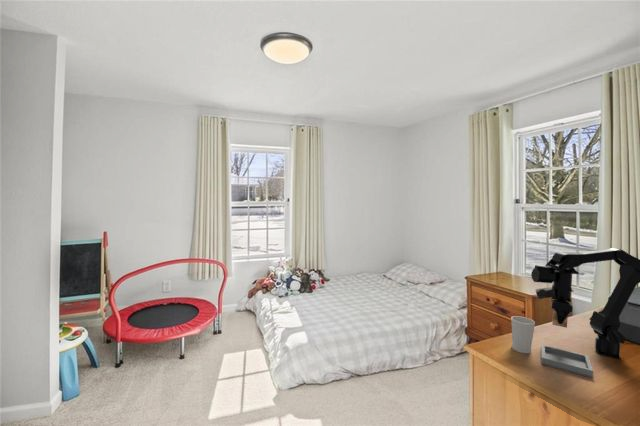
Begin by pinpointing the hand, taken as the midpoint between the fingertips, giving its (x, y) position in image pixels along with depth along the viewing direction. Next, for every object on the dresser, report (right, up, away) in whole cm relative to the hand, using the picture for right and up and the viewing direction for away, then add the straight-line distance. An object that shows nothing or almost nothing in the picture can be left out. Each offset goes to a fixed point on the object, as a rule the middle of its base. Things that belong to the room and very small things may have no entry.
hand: (559, 321), depth 123 cm
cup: (-16, -11, -1) cm, 19 cm away
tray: (-7, -11, -11) cm, 17 cm away
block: (0, -1, 0) cm, 1 cm away
